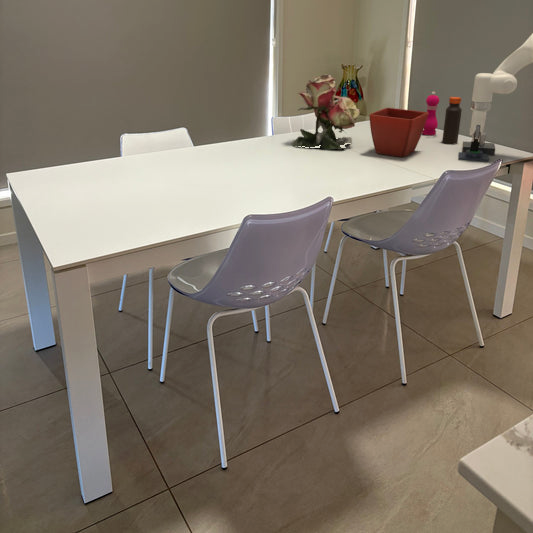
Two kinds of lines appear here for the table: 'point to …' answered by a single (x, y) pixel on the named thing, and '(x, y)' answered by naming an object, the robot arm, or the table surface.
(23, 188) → the table surface
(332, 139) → the rose bouquet
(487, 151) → the dial panel
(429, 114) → the pepper mill
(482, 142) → the program dial
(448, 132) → the bottle
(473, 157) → the housing
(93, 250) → the table surface
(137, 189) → the table surface
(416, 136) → the flower pot
